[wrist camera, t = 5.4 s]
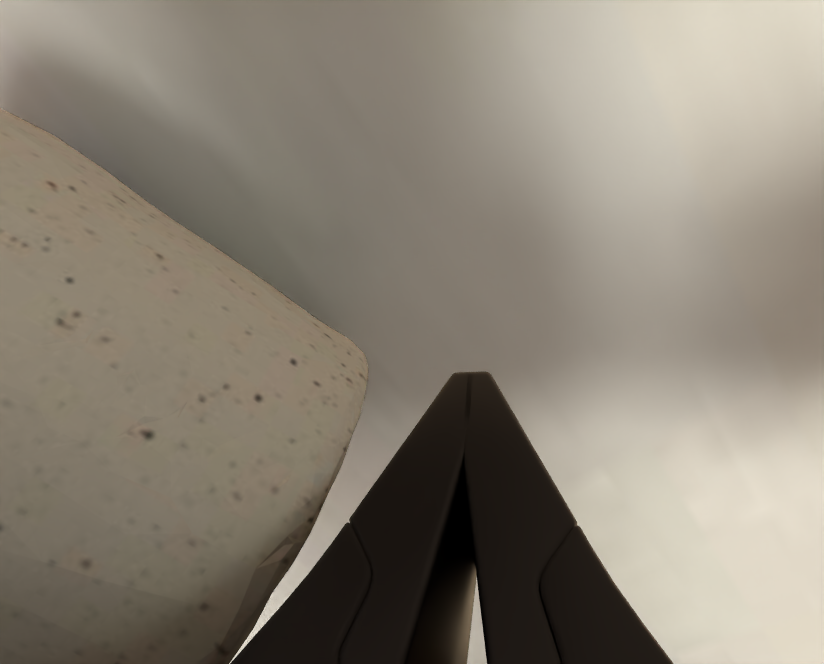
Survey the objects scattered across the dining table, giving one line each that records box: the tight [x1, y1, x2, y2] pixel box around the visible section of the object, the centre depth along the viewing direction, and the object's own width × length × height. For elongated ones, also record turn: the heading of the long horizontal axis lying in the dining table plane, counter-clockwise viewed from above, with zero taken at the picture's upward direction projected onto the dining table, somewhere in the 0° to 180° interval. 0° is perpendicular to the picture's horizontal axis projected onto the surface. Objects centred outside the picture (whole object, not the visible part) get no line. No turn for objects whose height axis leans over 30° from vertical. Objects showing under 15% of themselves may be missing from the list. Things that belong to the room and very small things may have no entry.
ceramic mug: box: [0, 108, 369, 664], centre depth 9 cm, size 11×8×8 cm
